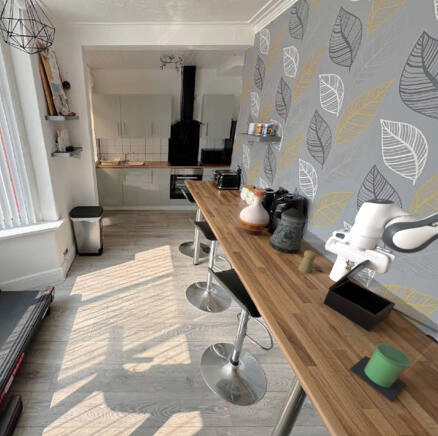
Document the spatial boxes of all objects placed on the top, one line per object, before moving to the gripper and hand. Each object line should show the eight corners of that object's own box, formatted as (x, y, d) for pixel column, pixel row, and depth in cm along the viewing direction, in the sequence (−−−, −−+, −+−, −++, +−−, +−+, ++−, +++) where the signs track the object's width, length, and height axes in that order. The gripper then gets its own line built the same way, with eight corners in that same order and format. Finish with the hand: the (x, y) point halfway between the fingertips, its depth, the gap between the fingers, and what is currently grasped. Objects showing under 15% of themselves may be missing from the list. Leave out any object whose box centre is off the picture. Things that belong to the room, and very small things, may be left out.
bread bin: (386, 318, 92) (395, 303, 89) (367, 333, 86) (376, 317, 83) (342, 293, 105) (348, 279, 102) (322, 304, 98) (328, 289, 95)
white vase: (237, 223, 171) (245, 183, 159) (263, 228, 165) (274, 187, 153) (236, 235, 154) (245, 191, 142) (265, 240, 148) (278, 195, 136)
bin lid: (381, 255, 91) (379, 253, 91) (361, 264, 84) (359, 263, 85) (350, 279, 101) (348, 278, 102) (330, 289, 95) (328, 288, 95)
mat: (406, 385, 69) (406, 384, 69) (391, 402, 65) (391, 401, 65) (365, 356, 77) (365, 355, 77) (349, 369, 73) (350, 368, 73)
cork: (299, 265, 125) (306, 247, 120) (312, 270, 121) (320, 252, 116) (296, 269, 121) (302, 251, 116) (309, 275, 117) (317, 256, 112)
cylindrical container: (333, 283, 111) (354, 237, 101) (326, 274, 118) (344, 230, 108) (350, 285, 110) (373, 239, 100) (341, 276, 117) (362, 231, 107)
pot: (398, 382, 69) (414, 359, 65) (387, 393, 66) (404, 370, 62) (369, 361, 75) (383, 339, 71) (358, 371, 72) (372, 348, 68)
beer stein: (271, 251, 137) (282, 211, 127) (266, 236, 154) (275, 200, 144) (302, 256, 133) (317, 215, 122) (294, 240, 150) (306, 204, 140)
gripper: (402, 251, 82) (385, 282, 88) (337, 227, 99) (326, 255, 104) (394, 255, 79) (377, 287, 85) (329, 230, 96) (318, 258, 102)
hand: (348, 269), depth 95 cm, fingers closed
